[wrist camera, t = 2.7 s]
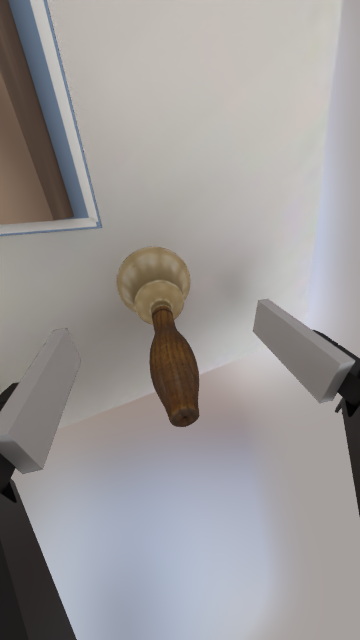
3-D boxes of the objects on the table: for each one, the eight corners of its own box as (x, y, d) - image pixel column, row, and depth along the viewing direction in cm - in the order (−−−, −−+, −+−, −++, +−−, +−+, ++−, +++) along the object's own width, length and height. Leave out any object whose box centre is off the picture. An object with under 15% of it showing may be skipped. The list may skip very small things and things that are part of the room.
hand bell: (169, 324, 24) (212, 468, 11) (103, 300, 21) (53, 465, 8) (203, 267, 22) (320, 368, 8) (134, 227, 18) (138, 290, 5)
